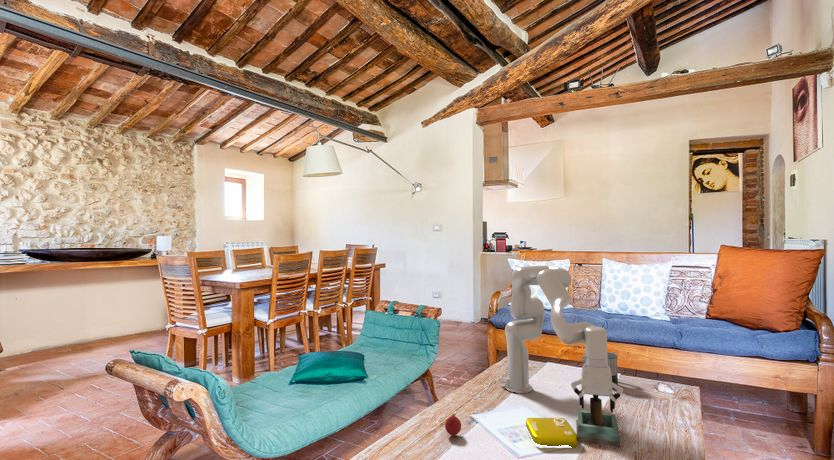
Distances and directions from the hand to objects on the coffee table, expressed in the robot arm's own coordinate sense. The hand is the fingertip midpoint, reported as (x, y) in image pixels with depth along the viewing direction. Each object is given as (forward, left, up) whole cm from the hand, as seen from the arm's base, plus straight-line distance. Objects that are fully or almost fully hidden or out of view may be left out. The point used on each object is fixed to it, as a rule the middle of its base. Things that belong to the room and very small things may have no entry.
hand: (596, 409), depth 151 cm
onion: (-49, -17, -9) cm, 53 cm away
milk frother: (+4, +55, -10) cm, 56 cm away
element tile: (-16, -7, -10) cm, 20 cm away
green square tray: (0, 0, -9) cm, 9 cm away
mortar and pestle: (0, 0, -8) cm, 8 cm away
